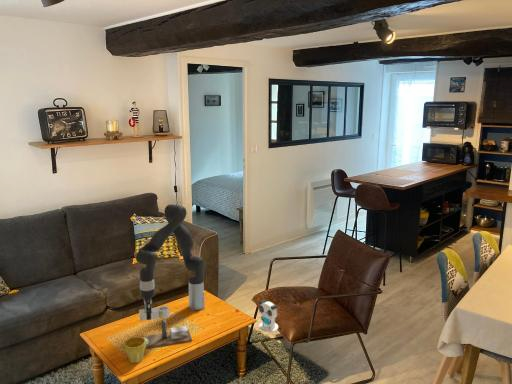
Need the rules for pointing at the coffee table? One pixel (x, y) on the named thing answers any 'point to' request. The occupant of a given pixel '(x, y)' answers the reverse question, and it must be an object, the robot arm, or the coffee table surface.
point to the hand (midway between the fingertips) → (148, 316)
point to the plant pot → (135, 349)
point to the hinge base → (169, 336)
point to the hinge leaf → (155, 313)
